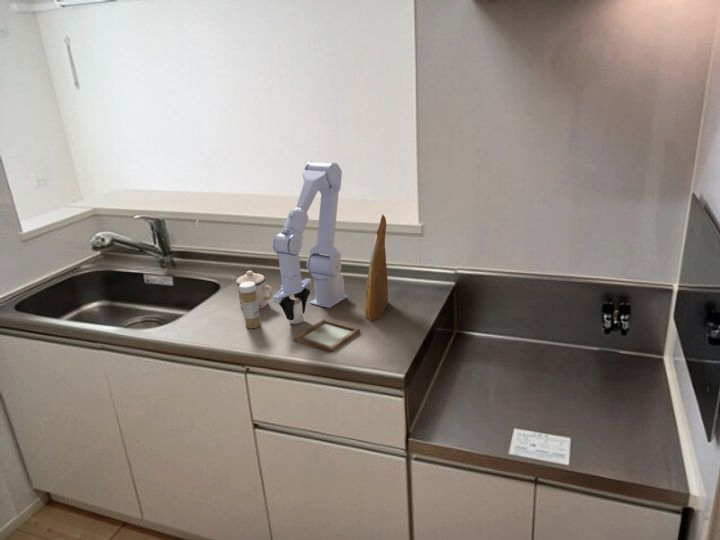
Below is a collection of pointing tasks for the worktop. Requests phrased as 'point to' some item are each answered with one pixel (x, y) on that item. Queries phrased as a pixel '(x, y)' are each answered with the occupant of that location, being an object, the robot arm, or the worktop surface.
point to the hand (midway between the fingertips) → (295, 315)
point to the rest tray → (327, 335)
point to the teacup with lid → (260, 288)
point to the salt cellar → (297, 311)
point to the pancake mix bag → (377, 276)
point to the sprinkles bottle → (250, 304)
